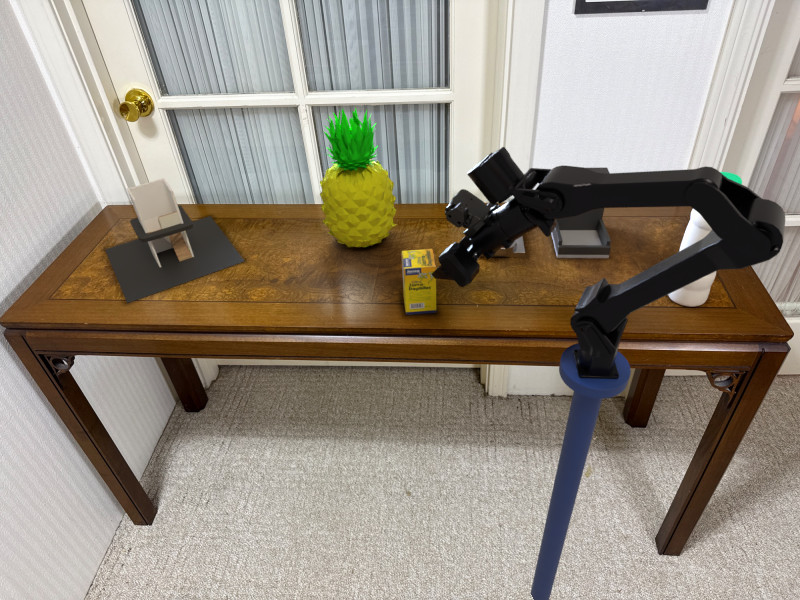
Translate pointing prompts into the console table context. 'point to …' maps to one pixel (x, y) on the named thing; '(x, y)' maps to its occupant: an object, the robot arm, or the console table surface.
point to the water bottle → (694, 233)
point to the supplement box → (419, 281)
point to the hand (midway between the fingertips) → (445, 262)
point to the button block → (511, 250)
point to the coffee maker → (582, 234)
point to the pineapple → (356, 185)
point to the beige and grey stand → (167, 245)
